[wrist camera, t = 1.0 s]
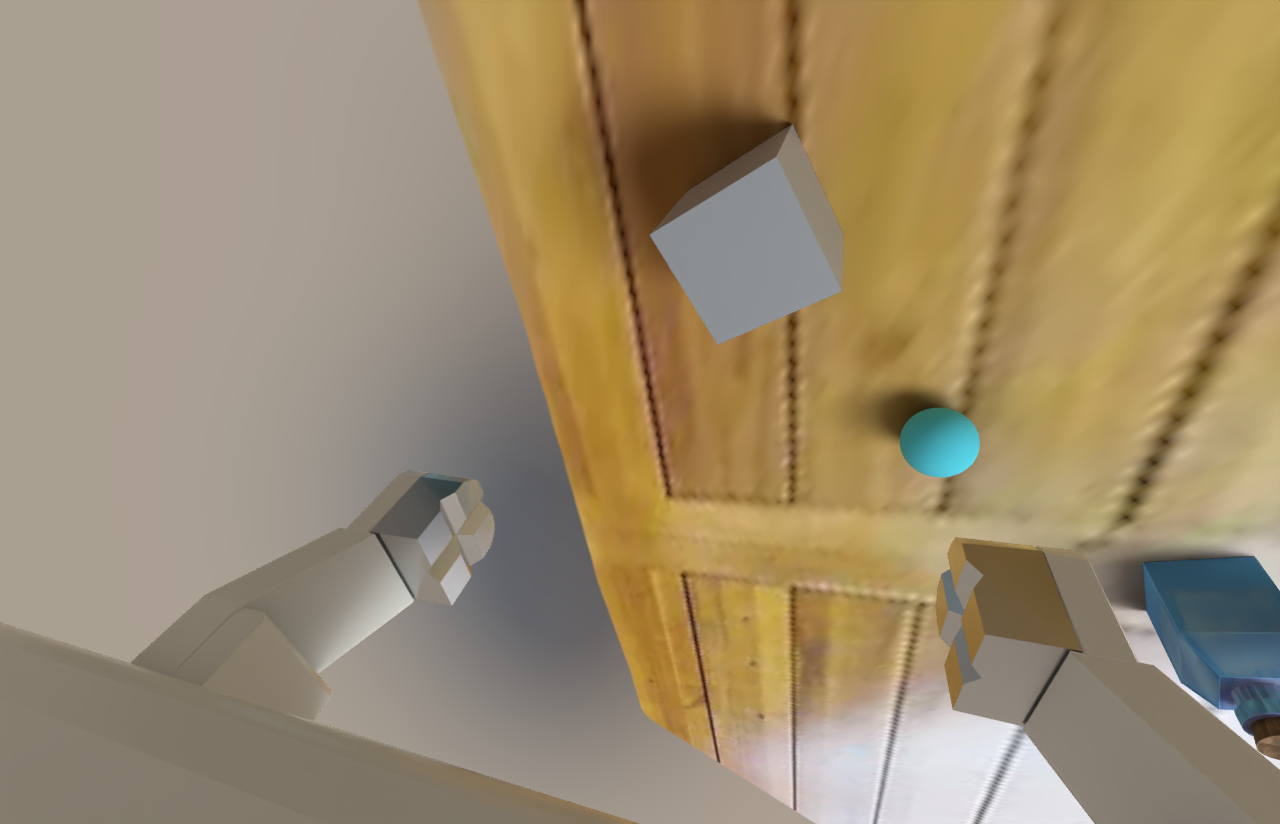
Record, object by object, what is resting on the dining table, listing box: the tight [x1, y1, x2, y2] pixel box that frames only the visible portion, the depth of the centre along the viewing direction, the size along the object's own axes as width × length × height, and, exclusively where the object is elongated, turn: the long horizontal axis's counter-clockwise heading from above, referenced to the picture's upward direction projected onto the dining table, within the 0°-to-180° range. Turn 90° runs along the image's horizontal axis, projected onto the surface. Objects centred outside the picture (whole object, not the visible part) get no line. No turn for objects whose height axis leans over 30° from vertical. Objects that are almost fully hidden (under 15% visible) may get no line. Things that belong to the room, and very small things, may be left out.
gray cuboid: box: [650, 124, 844, 345], centre depth 31 cm, size 8×8×9 cm
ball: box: [900, 408, 980, 477], centre depth 38 cm, size 5×5×5 cm
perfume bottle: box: [1143, 557, 1280, 760], centre depth 37 cm, size 6×6×12 cm
